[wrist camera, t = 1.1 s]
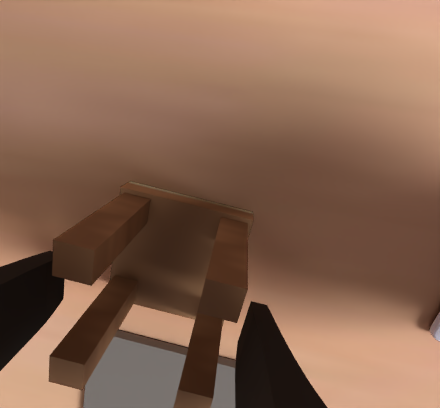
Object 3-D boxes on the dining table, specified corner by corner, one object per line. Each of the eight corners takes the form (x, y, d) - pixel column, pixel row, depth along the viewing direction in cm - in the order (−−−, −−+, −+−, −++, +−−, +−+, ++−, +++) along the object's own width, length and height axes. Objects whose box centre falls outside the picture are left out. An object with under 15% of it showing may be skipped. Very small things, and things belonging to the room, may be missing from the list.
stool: (252, 210, 13) (256, 285, 8) (224, 310, 15) (210, 427, 10) (131, 180, 13) (46, 231, 8) (118, 283, 15) (43, 383, 10)
